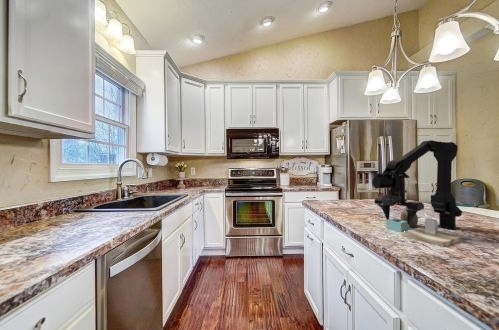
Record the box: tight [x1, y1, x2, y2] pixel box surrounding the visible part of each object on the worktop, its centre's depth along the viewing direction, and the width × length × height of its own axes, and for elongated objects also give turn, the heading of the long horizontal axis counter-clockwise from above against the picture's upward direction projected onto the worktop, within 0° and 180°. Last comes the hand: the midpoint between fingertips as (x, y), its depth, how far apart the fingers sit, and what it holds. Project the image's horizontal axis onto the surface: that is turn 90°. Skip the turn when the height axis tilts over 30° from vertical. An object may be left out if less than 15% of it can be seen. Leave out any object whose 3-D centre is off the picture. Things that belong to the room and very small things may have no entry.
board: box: [401, 226, 464, 248], centre depth 88 cm, size 15×14×2 cm
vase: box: [400, 206, 419, 228], centre depth 105 cm, size 7×7×9 cm
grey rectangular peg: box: [424, 217, 438, 236], centre depth 88 cm, size 2×3×6 cm, turn 26°
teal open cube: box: [385, 217, 410, 233], centre depth 100 cm, size 6×6×4 cm
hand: (397, 221), depth 100 cm, fingers open, 9 cm apart
